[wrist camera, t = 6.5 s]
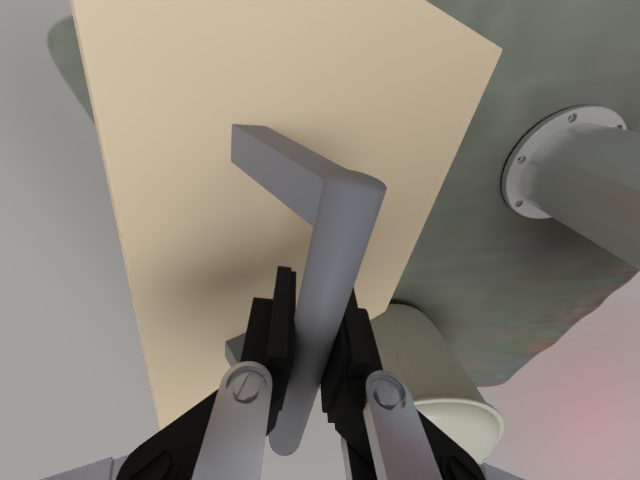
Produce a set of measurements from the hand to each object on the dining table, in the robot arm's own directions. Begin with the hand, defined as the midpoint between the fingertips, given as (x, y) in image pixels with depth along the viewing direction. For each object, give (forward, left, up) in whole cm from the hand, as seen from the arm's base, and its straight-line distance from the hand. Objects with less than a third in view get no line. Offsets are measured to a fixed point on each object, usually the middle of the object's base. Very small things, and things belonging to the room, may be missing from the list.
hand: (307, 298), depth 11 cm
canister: (-17, +25, -22) cm, 38 cm away
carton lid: (-1, 0, -6) cm, 6 cm away
